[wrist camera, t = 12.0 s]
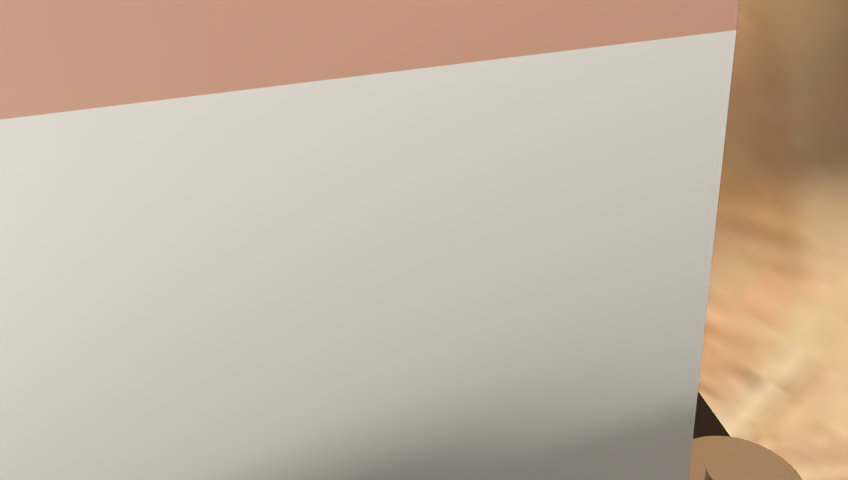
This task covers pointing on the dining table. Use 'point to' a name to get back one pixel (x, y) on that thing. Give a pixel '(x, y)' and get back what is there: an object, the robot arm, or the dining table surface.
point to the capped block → (357, 237)
